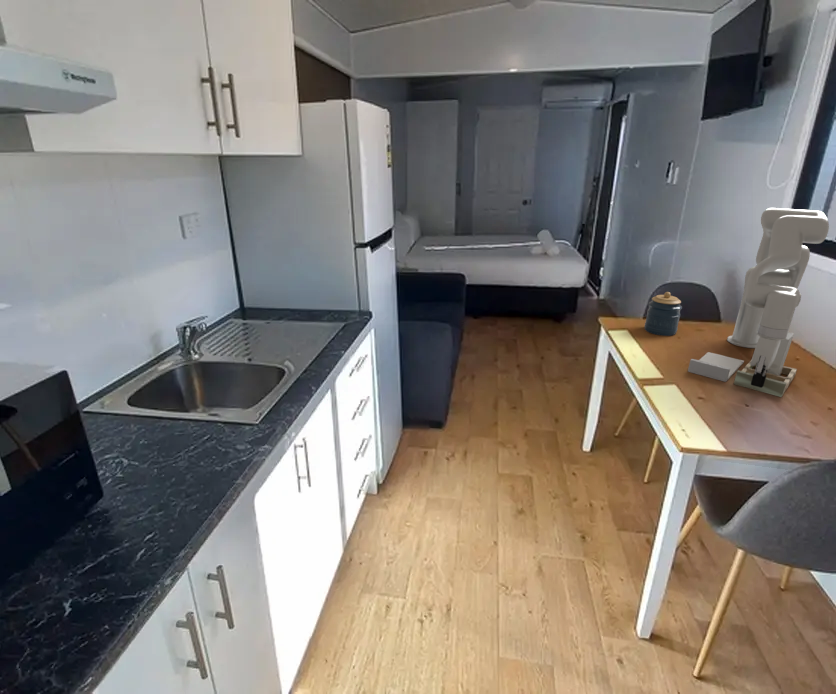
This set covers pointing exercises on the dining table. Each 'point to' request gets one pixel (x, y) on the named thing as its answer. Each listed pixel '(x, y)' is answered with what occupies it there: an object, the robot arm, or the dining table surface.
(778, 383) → the divided wooden tray
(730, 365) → the grey sloped stand
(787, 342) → the skincare box
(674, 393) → the dining table surface
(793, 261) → the robot arm
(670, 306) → the canister
